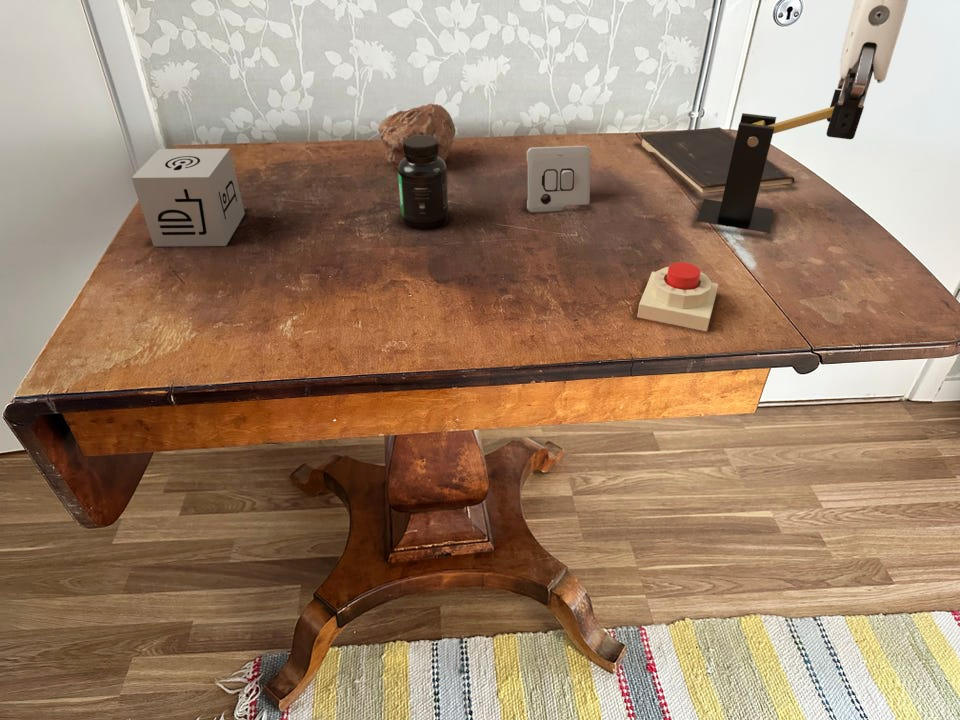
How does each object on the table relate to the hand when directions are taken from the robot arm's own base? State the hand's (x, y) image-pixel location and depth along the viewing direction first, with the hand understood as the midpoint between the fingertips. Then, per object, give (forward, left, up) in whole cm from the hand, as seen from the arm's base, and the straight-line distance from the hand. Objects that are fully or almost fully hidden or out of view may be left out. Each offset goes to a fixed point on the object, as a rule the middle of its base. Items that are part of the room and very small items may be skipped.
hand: (839, 128), depth 90 cm
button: (+14, +26, -11) cm, 32 cm away
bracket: (+10, 0, -15) cm, 18 cm away
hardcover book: (+16, -20, -15) cm, 29 cm away
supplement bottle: (+52, +16, -15) cm, 56 cm away
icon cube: (+81, +30, -15) cm, 88 cm away
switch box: (+14, +26, -15) cm, 33 cm away
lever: (+5, 0, -1) cm, 5 cm away
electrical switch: (+36, +4, -15) cm, 39 cm away
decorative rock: (+62, -3, -15) cm, 64 cm away
